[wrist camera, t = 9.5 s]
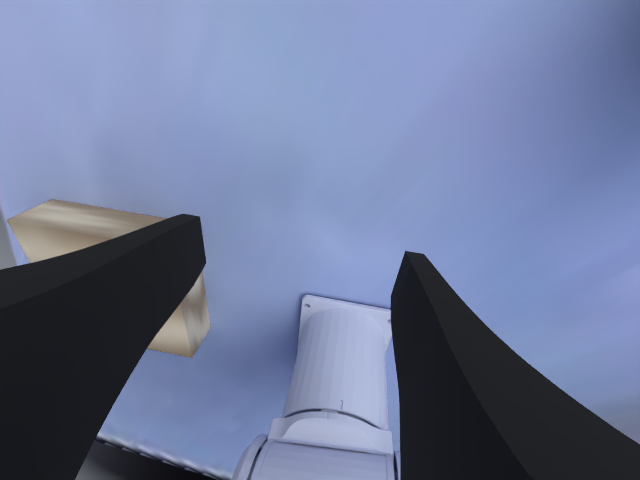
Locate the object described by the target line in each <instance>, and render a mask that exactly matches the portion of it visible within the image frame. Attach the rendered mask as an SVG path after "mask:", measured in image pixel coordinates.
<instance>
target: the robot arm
mask: <svg viewBox="0 0 640 480" xmlns="http://www.w3.org/2000/svg"><path fill="white" fill-rule="evenodd" d="M205 264H206V257H205V250H204V243H203V236H202V229H201V222H200V217H199V216H193V215H187V214H181V215H177V216H174V217H171V218H168V219H165V220H162V221H159V222H157V223H154V224H151V225H149V226H146V227H143V228H141V229H138V230H135V231H132V232H130V233H127V234H124V235H122V236H119V237H116V238H113V239H110V240H107V241H104V242H101V243H98V244H95V245H92V246H90V247H87V248H84V249H80V250H77V251H74V252H70V253H67V254H64V255H60V256H56V257H52V258H49V259H45V260H41V261H37V262H33V263H29V264H24V265H20V266H15V267H11V268H6V269H2V270H0V480H75V478H76V476H77V474H78V472H79V470H80V468H81V466H82V464H83V462H84V460H85V458H86V456H87V454H88V452H89V450H90V448H91V446H92V444H93V442H94V440H95V438H96V436H97V434H98V432H99V430H100V429H101V427H102V425H103V423H104V421H105V419H106V417H107V415H108V414H109V412H110V410H111V408H112V406H113V404H114V403H115V401H116V399H117V397H118V396H119V394H120V392H121V390H122V389H123V387H124V385H125V383H126V382H127V380H128V378H129V376H130V375H131V373H132V372H133V370H134V368H135V367H136V365H137V363H138V362H139V360H140V359H141V357H142V355H143V354H144V352H145V350H146V349H147V347H148V346H149V344H150V343H151V342H152V340H153V339H154V337H155V336H156V335H157V333H158V332H159V331H160V329H161V328H162V327H163V326H164V324H165V323H166V322H167V320H168V319H169V318H170V316H171V315H172V314H173V312H174V311H175V310H176V309H177V307H178V306H179V305H180V303H181V302H182V301H183V299H184V298H185V297H186V295H187V294H188V293H189V291H190V290H191V289H192V287H193V286H194V284H195V283H196V281H197V279H198V277H199V276H200V274H201V272H202V270H203V268H204V266H205ZM306 304H309V305H306ZM389 319H391V320H389ZM391 336H392V338H393V347H394V355H395V363H396V371H397V379H398V388H399V403H400V451H394V460H393V451H392V433H391V431H388V407H387V384H386V361H385V353H386V350H387V347H388V344H389V341H390V339H391ZM232 480H640V444H638V443H637V442H635V441H634V440H632V439H630V438H629V437H627V436H626V435H624V434H623V433H621V432H620V431H618V430H617V429H615V428H614V427H612V426H611V425H610V424H608V423H607V422H605V421H604V420H603V419H601V418H600V417H598V416H597V415H596V414H594V413H593V412H591V411H590V410H588V409H587V408H586V407H584V406H583V405H581V404H580V403H579V402H577V401H576V400H575V399H573V398H572V397H571V396H569V395H568V394H566V393H565V392H564V391H562V390H561V389H560V388H558V387H557V386H556V385H555V384H553V383H552V382H551V381H550V380H548V379H547V378H546V377H545V376H543V375H542V374H541V373H540V372H538V371H537V370H536V369H535V368H533V367H532V366H531V365H530V364H528V363H527V362H526V361H525V360H524V359H522V358H521V357H520V356H519V355H518V354H517V353H515V352H514V351H513V350H512V349H511V348H510V347H509V346H508V345H507V344H505V343H504V342H503V341H502V340H501V339H500V338H499V337H498V336H497V335H496V334H494V333H493V332H492V331H491V330H490V329H489V328H488V327H487V326H486V325H485V324H484V323H483V322H482V321H481V320H480V319H479V318H478V317H477V316H476V314H475V313H474V312H473V311H472V310H471V309H470V308H469V307H468V306H467V305H466V304H465V303H464V302H463V301H462V299H461V298H460V297H459V296H458V295H457V294H456V293H455V291H454V290H453V289H452V288H451V287H450V285H449V284H448V283H447V282H446V281H445V279H444V278H443V277H442V276H441V274H440V273H439V272H438V271H437V270H436V268H435V267H434V266H433V265H432V263H431V262H430V261H429V260H428V258H427V257H426V256H425V255H424V254H420V253H414V252H408V251H405V254H404V257H403V260H402V263H401V266H400V269H399V272H398V275H397V279H396V282H395V285H394V288H393V291H392V294H391V310H389V309H384V308H378V307H373V306H367V305H362V304H356V303H351V302H345V301H340V300H335V299H329V298H324V297H318V296H313V295H305V296H303V299H302V306H301V316H300V327H299V338H298V349H297V358H296V362H295V366H294V370H293V374H292V378H291V382H290V386H289V390H288V394H287V398H286V402H285V406H284V410H283V414H282V418H273V419H272V423H271V427H270V430H269V434H268V435H259V436H258V437H257V438H256V439H255V440H254V441H253V442H252V443H251V445H250V446H249V447H248V448H247V449H246V450H245V451H244V453H243V454H242V456H241V458H240V460H239V462H238V464H237V467H236V469H235V471H234V474H233V477H232Z"/></svg>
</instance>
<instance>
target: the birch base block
mask: <svg viewBox="0 0 640 480" xmlns="http://www.w3.org/2000/svg"><path fill="white" fill-rule="evenodd" d="M165 219H166V218H161V217H155V216H149V215H143V214H137V213H131V212H125V211H119V210H113V209H107V208H102V207H96V206H90V205H84V204H78V203H72V202H66V201H60V200H54V199H52V200H49V201H47V202H45V203H43V204H40V205H38V206H36V207H34V208H31V209H29V210H27V211H25V212H23V213H20V214H18V215H16V216H14V217H11V218H9V219H7V222H8V224H9V225H10V227H11V229H12V231H13V233H14V234H15V236H16V238H17V240H18V242H19V244H20V245H21V247H22V249H23V251H24V253H25V254H26V256H27V258H28V260H29V262H30V263H33V262H37V261H41V260H45V259H49V258H52V257H56V256H60V255H64V254H67V253H70V252H74V251H77V250H80V249H84V248H87V247H90V246H92V245H95V244H98V243H101V242H104V241H107V240H110V239H113V238H116V237H119V236H122V235H124V234H127V233H130V232H132V231H135V230H138V229H141V228H143V227H146V226H149V225H151V224H154V223H157V222H159V221H162V220H165ZM210 328H211V326H210V319H209V313H208V306H207V300H206V293H205V287H204V280H203V274H202V272H201V274H200V276H199V277H198V279H197V281H196V283H195V284H194V286H193V287H192V289H191V290H190V291H189V293H188V294H187V295H186V297H185V298H184V299H183V301H182V302H181V303H180V305H179V306H178V307H177V309H176V310H175V311H174V312H173V314H172V315H171V316H170V318H169V319H168V320H167V322H166V323H165V324H164V326H163V327H162V328H161V329H160V331H159V332H158V333H157V335H156V336H155V337H154V339H153V340H152V342H151V343H150V344H149V346H148V347H147V349H151V350H156V351H161V352H166V353H171V354H176V355H180V356H185V357H190V358H193V356H194V354H195V353H196V351H197V349H198V348H199V346H200V344H201V343H202V341H203V339H204V338H205V336H206V334H207V333H208V331H209V329H210Z"/></svg>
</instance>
